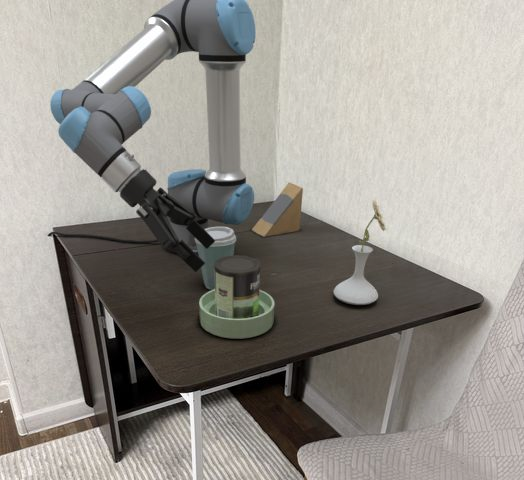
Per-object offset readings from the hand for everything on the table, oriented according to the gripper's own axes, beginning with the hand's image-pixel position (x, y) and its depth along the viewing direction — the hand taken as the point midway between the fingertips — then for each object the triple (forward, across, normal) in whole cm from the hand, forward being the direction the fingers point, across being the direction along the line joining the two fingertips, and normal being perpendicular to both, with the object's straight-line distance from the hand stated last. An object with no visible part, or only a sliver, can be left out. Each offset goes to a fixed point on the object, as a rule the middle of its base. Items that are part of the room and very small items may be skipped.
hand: (206, 255), depth 104 cm
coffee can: (+16, 0, +6) cm, 17 cm away
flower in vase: (+37, +16, -14) cm, 43 cm away
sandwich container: (+20, +68, +2) cm, 71 cm away
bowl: (+16, 0, +6) cm, 17 cm away
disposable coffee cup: (+11, +19, +12) cm, 25 cm away
